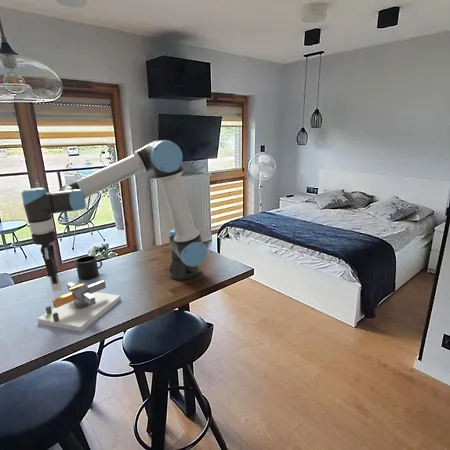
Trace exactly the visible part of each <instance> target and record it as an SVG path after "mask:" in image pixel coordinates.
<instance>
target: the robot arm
mask: <svg viewBox="0 0 450 450" xmlns="http://www.w3.org/2000/svg"><path fill="white" fill-rule="evenodd" d="M183 157H184V156H183V152H182V150H181V148H180V147H179V146H178V144H176V143H175V142H173V141H171V140H168V139H157V140H153V141H151V142H149V143H148V144H146V145H144V146H143V147H141V148H139V149H136V150H135V151H134V152H133V154H132V155H130V156H127V157H126V158H124V159H121V160H119V161H117V162H115V163H112V164H110V165H108V166H106V167H103V168H102V169H100V170H97V171H95V172H93V173H91V174H89V175H87V176H84V177H82V178H80V179H78V180H76V181H73V182H72V183H70V184H64V185H63V186H61V187H60V188H59V189H58V191H55V192H54V191H53V192H47V190H46V188H45V187H34V188H33V187H32V188H28V189H24V190H23V191H22V192H21V197H22V202H23V203H22V205H23V207H24V212H25V215H26V217H27V222H28V223H27V225H26V227H27V228H29V229H30V233H31V239H32V242H33V244H34V245H37V246H38V245H41V246H40V253H41V254H42V259H43V262H44V265H45V269H46V271H47V275H46V277H47V278H49V280H50V284H51V287H52V291H53V292H54V293H55V292H59V291H62V286H61V282H60V277H59V274H58V273H60V269H58V267H57V263H56V258H55V257H56V256H55V250H54V244H52V243H54V242H55V241H56V240H57V239H58V237H57V234H56V230H55V224H54V219H53V217H52V214H53V215H54V214H59V213H67V212H77V211H80V210H81V211H82V210H85V209H86V208H87V204H86V199H87V198H89V197H91V196H93V195H95V194H97V193H99V192H101V191H103V190H106V189H107V188H109V187H112V186H114V185H116V184H118V183H120V182H122V181H124V180H126V179H129V178H132V177H133V176H135V175H137V174H139V173H142V172H144V173H147V172H149V171H151V170H152V172H153V175H154V178H155V179H156V180H158V181H159V182H160V185H161V188H162V190H163V196H164V199H165V201H166V206H167V207H168V211H169V216H170V218H171V223H172V225H173V228H172V229H171V230H169V231H168V238H169V239H168V241H169V250H170V258H171V260H170V264H169V269H168V276H169V277H170V278H171V279H173V280H177V281H181V280H183V281H185V280H191V279H194V278H195V276H196V277H197V276H199V275H200V273H201V270H200V266H201V264H202V263H203V264H204V262H205V260H206V259H207V258H208V247H207V246H206V244H205V243H204V242H203V239H202V236H201V232H200V231H199V230H198V229H197V228H196V227H195V223H194V219H193V216H192V212H191V209H190V204H189V201H188V198H187V197H188V196H187V193H186V189H185V186H184V182H183V178H182V174H183V172H184V167H183V159H184V158H183ZM199 272H200V273H199ZM198 274H199V275H198ZM193 277H194V278H193Z"/></svg>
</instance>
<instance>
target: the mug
mask: <svg viewBox="0 0 450 450" xmlns="http://www.w3.org/2000/svg"><path fill="white" fill-rule="evenodd" d="M98 263H99V264H100V265H99V266H98ZM102 266H103V262H102V261H101V260H100V259H97V257H96V256H95V255H85V256H81V257H78V258H77V259H76V260H75V267H76V271H77V278H78V279H79V280H82V281H88V280H91V279H95V278H97V277H98V276H99V275H100V273H99V269H101V268H102Z"/></svg>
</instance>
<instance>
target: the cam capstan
mask: <svg viewBox="0 0 450 450" xmlns="http://www.w3.org/2000/svg"><path fill="white" fill-rule="evenodd" d="M66 286H67V290H68V293H66V294H63V295H61V296H57V297H55V298H53V299H52V304H53V307H54V308H58V307H60V306H62V305H65V304H67V303H70V302H72V301H74V306H75V308H78V309H80V308H85V307H87V306H89V305H91V306H92V305H94V304H96V302H95V297H94V296H93V295H91V294H92V293H94V292H100V291H101V290H102V291H103V289H106V288H107V287H106V280H103V279H102V280H99V281H97V282H95V283H91V284H88V283H87V282H80V283H79V282H78V283H76V284H75V283H73V282H72V281H70V282H68V283H67V284H66Z"/></svg>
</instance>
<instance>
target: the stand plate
mask: <svg viewBox="0 0 450 450" xmlns="http://www.w3.org/2000/svg"><path fill="white" fill-rule="evenodd" d="M91 295H93V296H94V297H95V302H96V304H94V305H92V306H91V305H89V306H87V307H85V308H80V309H78V308H75V306H74V301H72V302H70V303H67V304H65V305H62V306H60V307H58V308H55V307H54V308H52V306H51V305H47V306H46V307H45V311H46V312H45V313H43V314H42V315H41V316H39V317H38V318H36V321H37V323H38V324H39V325H45V326H49V327H50V326H51V327H54V328H55V327H56V328H60V329H65V330H70V331H75V332H80V333H82V332H83V331H84V330H85V329H87V328H88V327H90V325H92V324H93V323H94V322H95V321H97V320H98V319H99V318H100V317H102V315H104V314H105V313H107V311H109V310H110V309H111V308H113V307H114V306H115V305H117V304H118V303H119V302H121V300H122V299H121V298H122V297H121V295H118V294H112V293H105V292H100V291H97V292H94V293H92V294H91Z"/></svg>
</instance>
